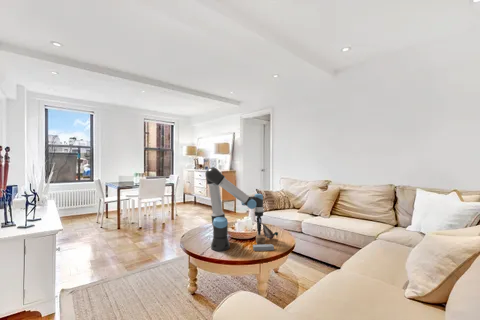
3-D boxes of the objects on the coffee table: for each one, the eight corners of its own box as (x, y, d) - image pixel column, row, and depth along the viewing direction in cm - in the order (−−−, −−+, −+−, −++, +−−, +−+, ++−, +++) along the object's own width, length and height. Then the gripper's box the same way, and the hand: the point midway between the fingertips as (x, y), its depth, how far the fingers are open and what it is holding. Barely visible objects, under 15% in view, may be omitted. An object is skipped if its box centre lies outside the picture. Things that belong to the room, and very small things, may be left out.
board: (253, 250, 183) (253, 247, 183) (252, 248, 188) (252, 244, 188) (273, 250, 184) (273, 246, 184) (272, 247, 189) (272, 244, 189)
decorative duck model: (281, 236, 207) (275, 219, 211) (277, 238, 201) (270, 221, 205) (268, 240, 215) (262, 224, 219) (263, 242, 209) (257, 226, 213)
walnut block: (257, 244, 197) (257, 237, 197) (255, 242, 204) (255, 235, 204) (265, 244, 197) (265, 237, 197) (263, 241, 204) (263, 234, 204)
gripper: (264, 212, 203) (264, 240, 203) (261, 209, 216) (262, 235, 216) (255, 213, 203) (255, 240, 203) (253, 209, 216) (254, 235, 216)
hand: (259, 237), depth 209 cm, fingers closed
